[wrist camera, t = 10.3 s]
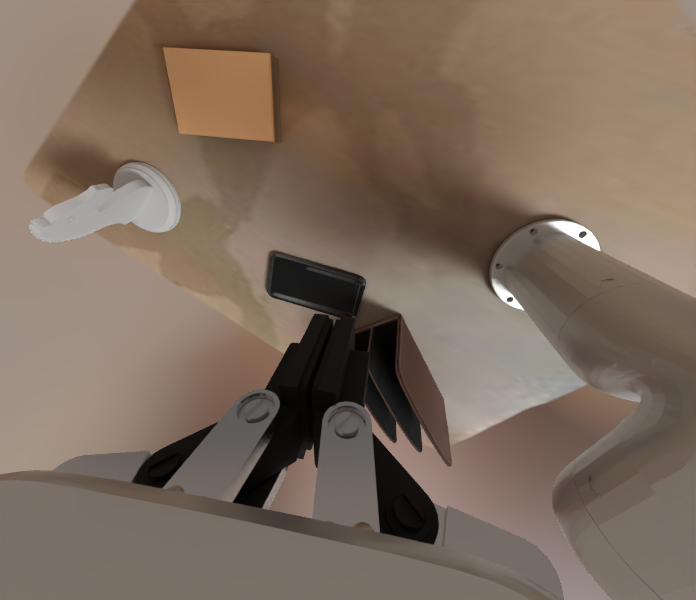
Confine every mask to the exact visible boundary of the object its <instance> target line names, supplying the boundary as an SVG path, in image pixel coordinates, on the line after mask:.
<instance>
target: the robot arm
mask: <svg viewBox="0 0 696 600" xmlns="http://www.w3.org/2000/svg"><path fill="white" fill-rule="evenodd" d="M531 229H533V230H532V231H531V232H530V230H531ZM579 233H580V234H579ZM498 263H499V264H498ZM496 264H498V265H496ZM489 279H490V283H491V286H492V289H493V290H494V292H495V293H496V295H497V296H498V297H499V298H500V300H502V301H503V302H504V303H505V304H507V305H509V306H511V307H513V308H517V309H520V310H525V312H526V313H527V314H528V315H529V317H530V318H531V319H532V321H533V322H534V323H535V324H536V326H537V327H538V328H539V329H540V331H541V332H542V333H543V334H544V336H545V337H546V338H547V339H548V341H549V342H550V343H551V345H552V346H553V347H554V348H555V350H556V351H557V352H558V353H559V355H560V356H561V357H562V358H563V360H564V361H565V362H566V364H567V365H568V366H569V367H570V369H571V370H572V371H573V372H574V373H575V374H576V375H577V376H578V377H579V378H580V379H582V380H583V381H584V382H585V383H587V384H589V385H590V386H592V387H594V388H596V389H598V390H600V391H602V392H605V393H607V394H610V395H613V396H616V397H619V398H623V399H627V400H631V401H636V402H640V404H639V405H638V407H637V408H636V409H635V410H634V411H633V412H632V413H631V414H630V415H629V416H628V417H627V418H625V419H624V420H623V421H621V422H620V423H619V425H618V426H617V427H616V428H615V429H613V430H612V431H611V432H610V433H608V434H607V435H606V436H604V437H603V438H602V439H600V440H599V441H598V442H597V443H595V444H594V445H593V446H592V447H590V448H589V449H587V450H586V451H585V452H584V453H582V454H581V455H580V456H578V457H577V458H576V459H575V460H573V461H572V462H571V463H570V464H569V465H568V466H567V467H565V469H563V470H562V472H561V473H560V474H559V475H558V477H557V479H556V480H555V483H554V485H553V490H552V505H553V510H554V514H555V517H556V520H557V522H558V525H559V527H560V529H561V531H562V533H563V535H564V537H565V539H566V540H567V542H568V544H569V546H570V547H571V548H572V550H573V551H574V553H575V555H576V556H577V558H578V559H579V561H580V562H581V563H582V565H583V566H584V567H585V569H586V570H587V571H588V572H589V574H590V575H591V576H592V577H593V579H594V580H595V581H596V582H597V583H598V585H599V586H600V587H601V588H602V589H603V590H604V591H605V593H606V594H607V595H608V596H609V597H610V598H611V599H612V600H696V298H694V297H692V296H690V295H688V294H686V293H684V292H682V291H680V290H678V289H676V288H673V287H671V286H669V285H667V284H665V283H663V282H661V281H659V280H657V279H655V278H653V277H651V276H649V275H647V274H645V273H643V272H641V271H639V270H637V269H635V268H633V267H631V266H630V265H627V264H625V263H623V262H621V261H619V260H617V259H615V258H613V257H611V256H609V255H607V254H605V253H603V252H601V250H600V245H599V242H598V240H597V238H596V237H595V235H594V234H593V233H592V232H591V231H590V230H589V229H587V228H586V227H584V226H583V225H581V224H578V223H576V222H573V221H569V220H565V219H547V220H541V221H537V222H534V223H531V224H529V225H526V226H524V227H522V228H520V229H519V230H517V231H516V232H514V233H513V234H511V235H510V236H509V237H508V238H507V239H506V240H505V241H504V242H503V243H502V244H501V245H500V246H499V248H498V249H497V251H496V252H495V254H494V256H493V258H492V261H491V264H490V269H489ZM508 297H509V298H508ZM354 345H355V318H352V317H342V318H341V320H336V322H335V325H334V327H333V319H329V316H328V315H323V314H314V316H313V318H312V320H311V322H310V324H309V326H308V328H307V330H306V332H305V334H304V336H303V338H302V340H301V342H300V343H291V344H290V345H289V347H288V349H287V351H286V352H285V354H284V356H283V358H282V360H281V362H280V363H279V365H278V367H277V369H276V370H275V372H274V374H273V376H272V378H271V380H270V382H269V383H268V385H267V387H266V389H265V390H263V389H261V390H254V391H251V392H248V393H246V394H244V395H243V396H241V397H240V398H239V399H238V400H237V401H236V402H235V403H234V404H233V405H232V407H231V408H230V409H229V410H228V411H227V412H226V414H225V415H224V416H223V417H222V418H221V420H220V421H219V422H217V423H215V424H213V425H211V426H209V427H207V428H204V429H202V430H200V431H198V432H196V433H194V434H192V435H189V436H188V437H185V438H183V439H181V440H179V441H177V442H175V443H173V444H170V445H168V446H166V447H164V448H162V449H161V450H159V451H157V452H156V453H154V454H150V452H149V451H141V452H126V453H111V454H96V455H84V456H79V457H75V458H73V459H71V460H68V461H66V462H64V463H63V464H61V465H60V466H58V467H57V468H55V469H54V470H53V471H39V470H38V471H37V470H35V471H21V472H14V473H6V474H1V475H0V600H564V597H563V592H562V587H561V583H560V580H559V578H558V575H557V572H556V570H555V568H554V567H553V565H552V564H551V562H550V560H549V559H548V557H547V556H546V555H544V553H543V552H542V551H541V550H540V549H539V548H537V546H535V545H533V544H532V543H530V542H529V541H527V540H526V539H523V538H521V537H519V536H516V535H514V534H512V533H510V532H507V531H505V530H502V529H500V528H498V527H496V526H494V525H491V524H489V523H487V522H484V521H482V520H480V519H477V518H475V517H473V516H471V515H468V514H466V513H464V512H461V511H459V510H457V509H454V508H452V507H450V506H447V509H446V508H443V507H441V506H439V505H436V504H434V503H433V502H432V501H431V499H430V498H429V496H428V495H427V494H426V493H425V492H424V491H423V489H422V488H421V487H420V486H419V485H418V484H417V482H415V480H414V479H413V478H412V477H411V476H410V475H409V474H408V472H407V471H406V470H405V469H404V468H403V467H402V465H401V464H400V463H399V462H398V461H397V460H396V459H395V457H394V456H393V455H392V454H391V453H390V452H389V451H388V450H387V448H386V447H385V446H384V445H383V444H382V443H381V442H380V441H379V439H378V438H377V437H376V436H375V435H374V434H373V433H372V424H371V418H370V415H369V413H368V412H367V410H366V409H365V408H364V407H365V399H366V391H367V383H368V373H369V362H370V352H367V351H359V350H354ZM313 442H314V457H315V465H316V467H317V469H318V470H317V479H316V489H315V498H314V508H313V518H312V519H311V518H306V517H301V516H296V515H291V514H286V513H281V512H276V511H271V510H269V508H270V506H271V504H272V502H273V500H274V498H275V496H276V494H277V492H278V490H279V488H280V486H281V484H282V482H283V480H284V478H285V476H286V473H287V470H288V466H289V465H291V464H292V463H294V462H295V461H296V460H297V458H300V459H303V458H304V455H305V452H306V449H307V450H311V449H312V446H313Z"/></svg>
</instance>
